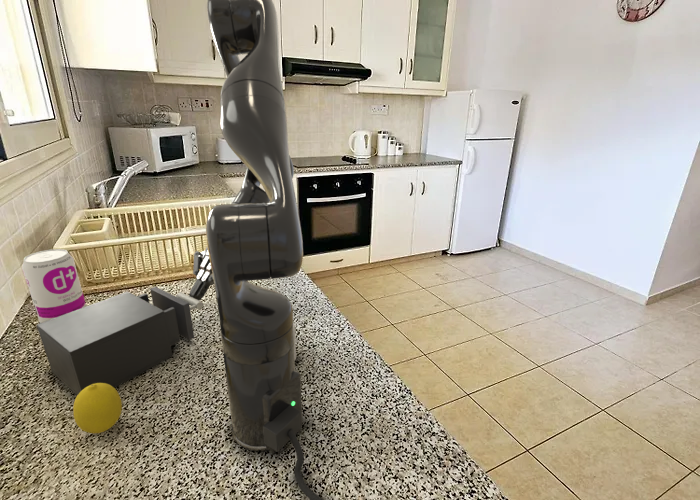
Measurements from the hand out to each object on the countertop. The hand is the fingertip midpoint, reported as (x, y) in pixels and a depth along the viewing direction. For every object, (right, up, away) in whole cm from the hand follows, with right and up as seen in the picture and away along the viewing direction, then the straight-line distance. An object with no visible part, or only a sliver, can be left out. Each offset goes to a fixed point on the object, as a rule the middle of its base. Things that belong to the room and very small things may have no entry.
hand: (194, 298), depth 78 cm
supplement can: (-28, -5, +2) cm, 29 cm away
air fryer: (-10, -10, -11) cm, 18 cm away
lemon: (-3, -16, -24) cm, 29 cm away
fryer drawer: (-5, -7, -5) cm, 10 cm away
